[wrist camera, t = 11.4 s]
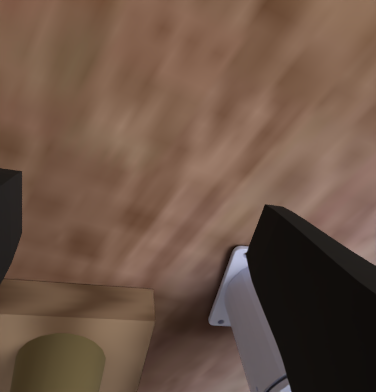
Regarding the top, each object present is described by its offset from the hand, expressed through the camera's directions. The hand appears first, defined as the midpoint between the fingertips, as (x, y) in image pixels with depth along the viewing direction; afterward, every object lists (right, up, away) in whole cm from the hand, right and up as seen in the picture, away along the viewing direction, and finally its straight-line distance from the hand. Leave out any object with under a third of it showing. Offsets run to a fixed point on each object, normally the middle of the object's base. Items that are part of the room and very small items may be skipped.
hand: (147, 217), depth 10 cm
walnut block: (-8, -10, +17) cm, 21 cm away
